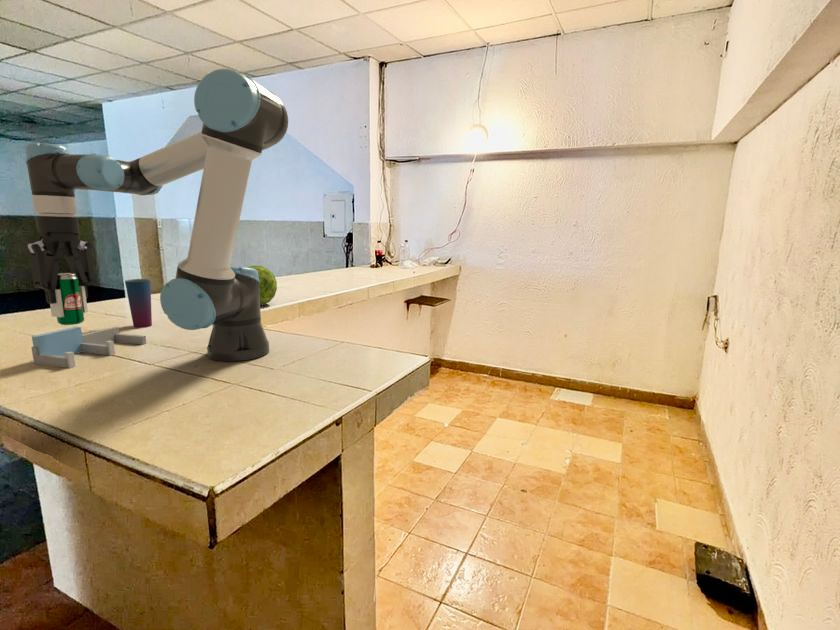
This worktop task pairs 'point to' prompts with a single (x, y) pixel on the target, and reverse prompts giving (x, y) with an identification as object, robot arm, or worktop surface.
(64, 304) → the soda can
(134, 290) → the cup
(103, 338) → the three-post can rack
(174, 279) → the robot arm
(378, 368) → the worktop surface
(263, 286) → the green watermelon
